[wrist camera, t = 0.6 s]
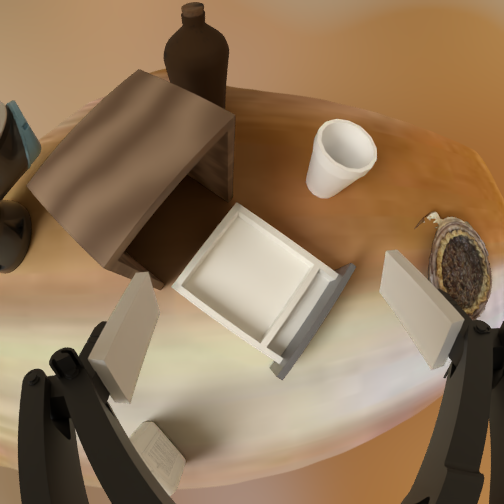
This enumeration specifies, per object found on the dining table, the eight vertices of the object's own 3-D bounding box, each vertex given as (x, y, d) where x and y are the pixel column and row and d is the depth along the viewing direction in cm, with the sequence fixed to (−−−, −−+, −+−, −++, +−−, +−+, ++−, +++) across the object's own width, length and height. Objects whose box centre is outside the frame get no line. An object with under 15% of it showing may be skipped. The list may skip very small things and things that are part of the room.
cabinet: (97, 236, 44) (26, 185, 23) (166, 153, 48) (138, 69, 27) (160, 290, 43) (103, 268, 22) (232, 197, 47) (235, 115, 26)
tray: (170, 296, 43) (160, 293, 36) (241, 203, 47) (243, 186, 40) (274, 371, 41) (282, 380, 35) (339, 273, 45) (356, 266, 39)
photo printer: (133, 426, 37) (106, 456, 25) (152, 416, 38) (128, 446, 26) (171, 469, 36) (156, 507, 24) (190, 460, 37) (179, 499, 25)
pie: (497, 299, 48) (511, 297, 43) (432, 367, 44) (447, 370, 39) (456, 196, 53) (469, 188, 48) (380, 241, 49) (394, 234, 44)
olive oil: (205, 137, 50) (195, 28, 25) (165, 115, 50) (139, 16, 26) (238, 104, 52) (245, 1, 28) (198, 85, 53) (190, -11, 28)
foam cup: (342, 163, 51) (369, 124, 38) (349, 207, 49) (382, 175, 36) (295, 159, 50) (313, 115, 37) (299, 205, 48) (321, 169, 35)
